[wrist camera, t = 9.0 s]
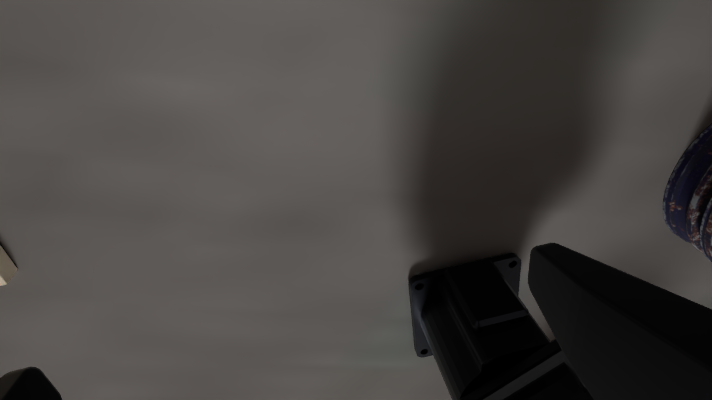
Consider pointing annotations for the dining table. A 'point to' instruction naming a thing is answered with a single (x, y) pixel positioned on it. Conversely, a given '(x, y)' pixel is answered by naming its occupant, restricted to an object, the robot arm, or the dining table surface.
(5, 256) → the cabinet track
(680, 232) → the storage jar
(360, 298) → the dining table surface
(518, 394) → the robot arm
